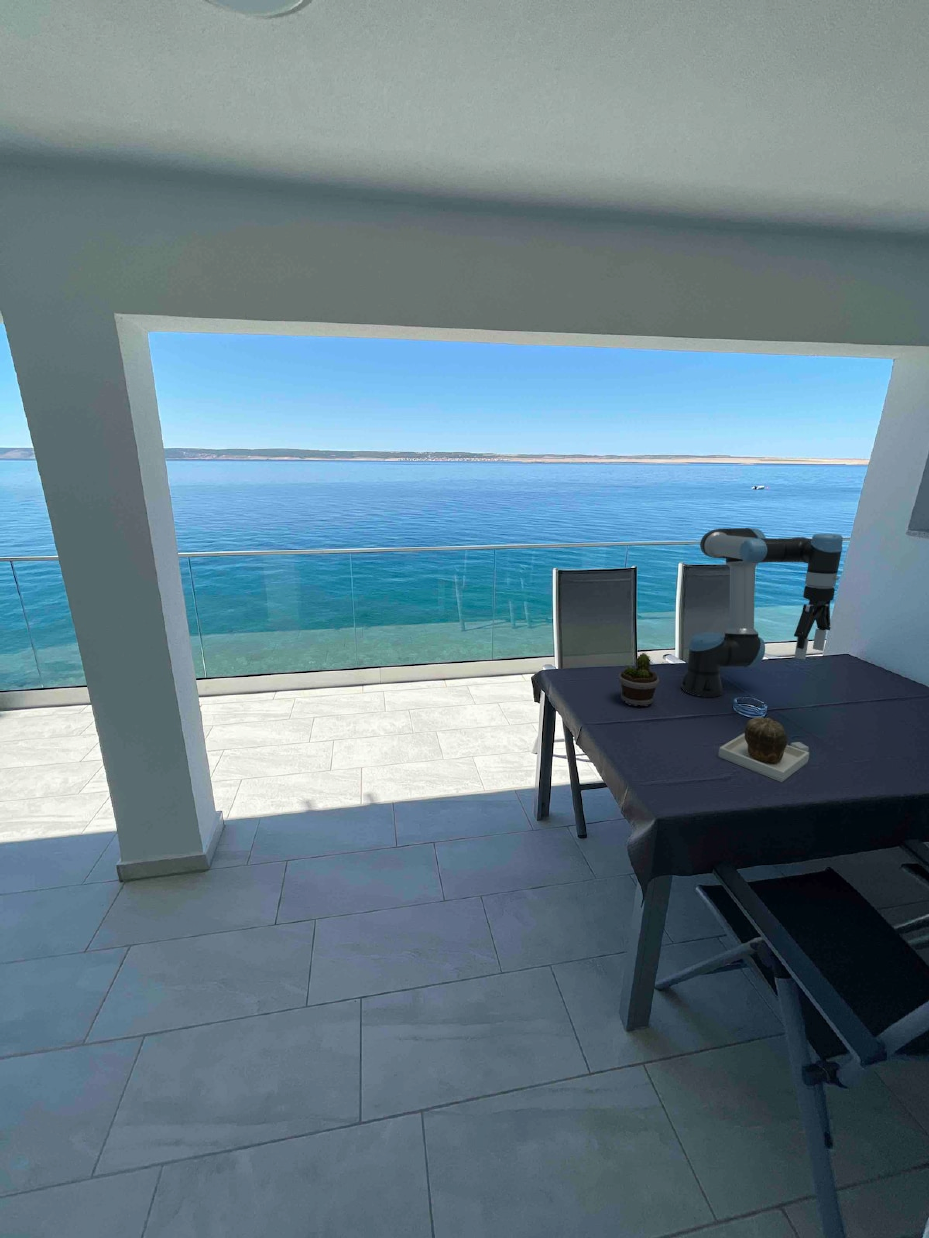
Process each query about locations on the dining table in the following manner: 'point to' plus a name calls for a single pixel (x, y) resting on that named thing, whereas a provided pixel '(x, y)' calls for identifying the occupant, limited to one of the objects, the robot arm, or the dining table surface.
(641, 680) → the flowerpot
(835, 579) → the robot arm
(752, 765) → the dish
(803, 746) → the pebble
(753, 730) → the shell
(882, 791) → the dining table surface
